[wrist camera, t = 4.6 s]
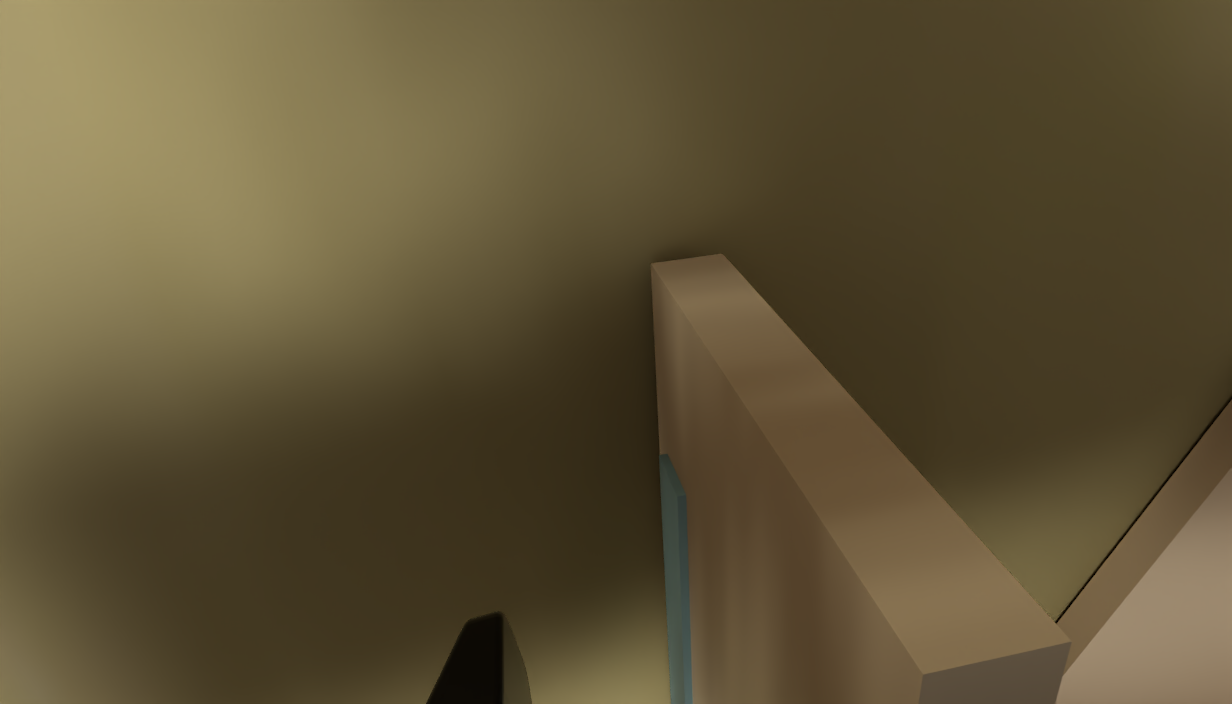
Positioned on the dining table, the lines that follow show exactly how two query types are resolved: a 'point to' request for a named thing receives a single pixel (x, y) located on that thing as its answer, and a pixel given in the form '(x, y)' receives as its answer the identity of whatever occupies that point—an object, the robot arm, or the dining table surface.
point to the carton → (1163, 595)
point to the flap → (814, 531)
